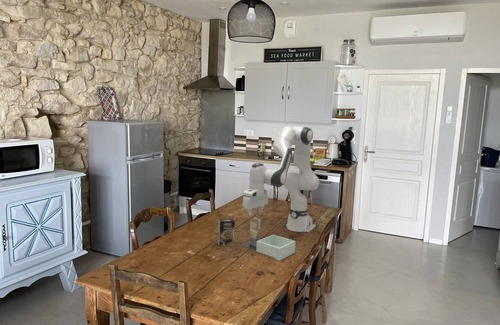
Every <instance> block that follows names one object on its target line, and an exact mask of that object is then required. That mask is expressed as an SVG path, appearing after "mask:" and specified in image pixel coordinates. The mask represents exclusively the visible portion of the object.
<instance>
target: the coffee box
mask: <svg viewBox="0 0 500 325" xmlns="http://www.w3.org/2000/svg"><path fill="white" fill-rule="evenodd" d="M217 222H218V224H217V245H218V247H232V246H235V230H236V229H235V228H236V227H235V226H236V220H235V219H234V218H233V217H231V218H230V217H229V218H218V220H217Z"/></svg>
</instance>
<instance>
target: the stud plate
mask: <svg viewBox="0 0 500 325" xmlns="http://www.w3.org/2000/svg"><path fill="white" fill-rule="evenodd" d="M240 246H242V247H246V248H248V249H250V250H251V249H252V250H253V251H256V247H254V246H251V245H249V241H245V242H244V243H242V244H240Z"/></svg>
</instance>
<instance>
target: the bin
mask: <svg viewBox="0 0 500 325" xmlns="http://www.w3.org/2000/svg"><path fill="white" fill-rule="evenodd" d="M255 251H256V252H257V253H260V254H263V255H266V256H268V257H272V259H273V260H275V261H282V260H284V259H286V258H288V257H290V256H291V255H293V254H296V240H293V239H290V238H286V237H283V236H279V235H276V234H271V235H268V236H266V237H264V238H261V239H260V240H258V241H257V246H256V250H255Z"/></svg>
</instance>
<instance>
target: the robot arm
mask: <svg viewBox="0 0 500 325" xmlns="http://www.w3.org/2000/svg"><path fill="white" fill-rule="evenodd" d="M313 138H314V133H313V130H312V128H310V127H307V126H305V127H304V126H299V125H297V126H290V125H289V126H288V125H287V126H284V127H282V129H281V130H280V131H279V133H278V134H277V135H276V137H275V139H274V141H273V143H272V148H273V150H274V152H275V153H276V155H278V156H279V157H281V162H280V165H279V167H278V168H277V169H273V168H269V167H266V166H265V165H264V163H260V162H259V163H253V164H252V165H251V166H250V170H249V185H248V188H247V189H246V190H244V191H243V192H242V195H243V198H242V208H243V209H244V210H247V213H248V216H249V217H252V216H253V212H252V210H253V209H255V208H256V209H257V208H258V207H259V208H258V213H259V214H261V213H263V209H264V208H265V205H268V203H269V195H268V190H267V189H266V188H265V185H268V186H273V187H275V188H281V187H282V186H283V187H284V189H286V190H287V192H288V194H289V196H290V208H289V214H288V217H287V223H286V224H285V227H286V228H287V230H288V231H291V232H295V233H298V232H299V233H310V232H311V231H313V230H314V229H315V228H316V224H315V223H313V218H312V217H311V216H310V215H309V213H308V212H310V211H311V209H310V208H308V198H307V197H306V195H304V194H303V193H301V191H316V190H317V189H318V188H319V186H320V180H319V177H318V176H317V175H316V174H315V173H314V172H313V170H312V167H311V142H312V140H313ZM293 144H294V150H293V152H292V146H293ZM292 158H293V165H294V167H296V168H297V169H299V170H300V171H301V172H300V173H299V172H297V173H296V172H288V170H289V168H290V165H291V161H292ZM300 190H301V191H300Z"/></svg>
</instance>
